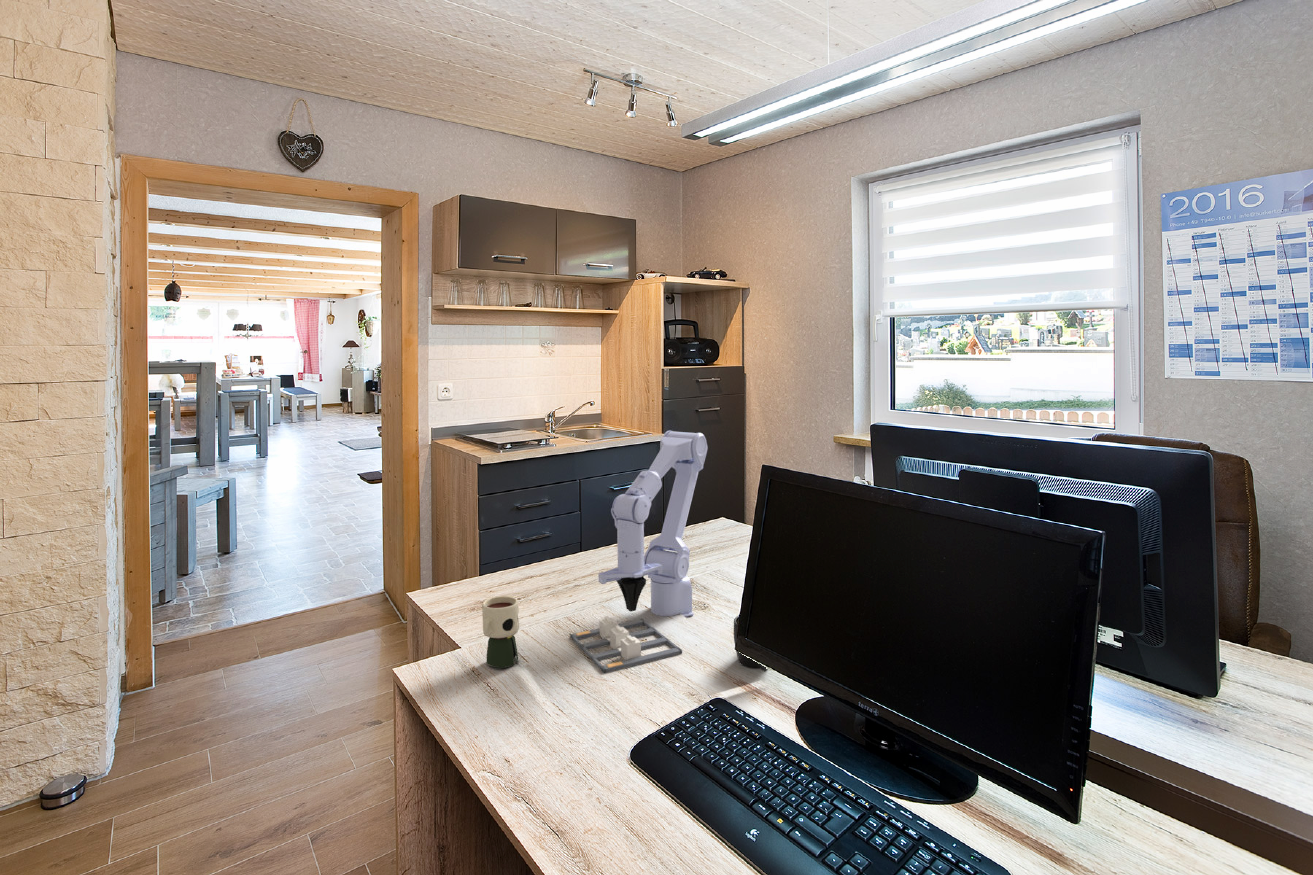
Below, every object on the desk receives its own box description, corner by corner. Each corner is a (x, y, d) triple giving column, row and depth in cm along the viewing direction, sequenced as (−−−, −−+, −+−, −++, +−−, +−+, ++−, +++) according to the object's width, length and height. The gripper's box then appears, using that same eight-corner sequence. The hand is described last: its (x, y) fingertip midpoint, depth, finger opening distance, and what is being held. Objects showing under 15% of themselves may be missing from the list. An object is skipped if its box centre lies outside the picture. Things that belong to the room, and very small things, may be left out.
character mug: (501, 679, 130) (499, 614, 128) (471, 672, 132) (468, 609, 130) (532, 654, 140) (530, 594, 138) (503, 649, 142) (500, 590, 140)
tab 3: (634, 652, 138) (634, 633, 137) (640, 658, 135) (640, 639, 135) (621, 655, 137) (620, 636, 136) (627, 661, 134) (627, 642, 133)
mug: (778, 651, 141) (778, 607, 139) (773, 678, 129) (773, 631, 128) (738, 647, 143) (739, 604, 141) (730, 673, 131) (730, 627, 130)
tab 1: (612, 632, 148) (611, 614, 147) (618, 637, 145) (617, 619, 144) (599, 635, 146) (599, 617, 146) (605, 640, 144) (604, 622, 143)
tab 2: (622, 642, 143) (622, 623, 142) (629, 647, 140) (628, 629, 140) (610, 645, 141) (609, 626, 141) (616, 650, 139) (615, 631, 138)
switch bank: (642, 626, 153) (642, 618, 153) (682, 658, 138) (682, 649, 137) (570, 642, 145) (570, 634, 145) (604, 678, 130) (603, 669, 129)
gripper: (607, 559, 139) (608, 622, 141) (669, 549, 145) (669, 609, 147) (594, 550, 145) (595, 610, 147) (653, 541, 152) (653, 599, 153)
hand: (631, 609), depth 147 cm, fingers closed
